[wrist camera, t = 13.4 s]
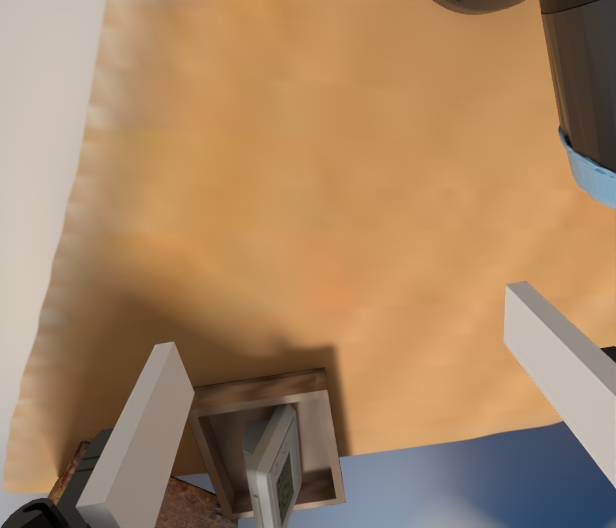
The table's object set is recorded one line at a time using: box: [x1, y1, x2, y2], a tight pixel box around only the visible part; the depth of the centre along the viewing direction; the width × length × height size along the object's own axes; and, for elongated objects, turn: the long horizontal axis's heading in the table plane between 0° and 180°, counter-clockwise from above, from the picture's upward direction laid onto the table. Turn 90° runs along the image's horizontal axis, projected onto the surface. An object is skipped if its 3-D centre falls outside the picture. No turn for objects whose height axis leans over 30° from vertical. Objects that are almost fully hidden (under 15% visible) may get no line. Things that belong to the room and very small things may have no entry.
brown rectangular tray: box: [187, 368, 346, 520], centre depth 55 cm, size 17×21×4 cm
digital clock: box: [242, 403, 302, 528], centre depth 52 cm, size 16×9×11 cm, turn 172°
